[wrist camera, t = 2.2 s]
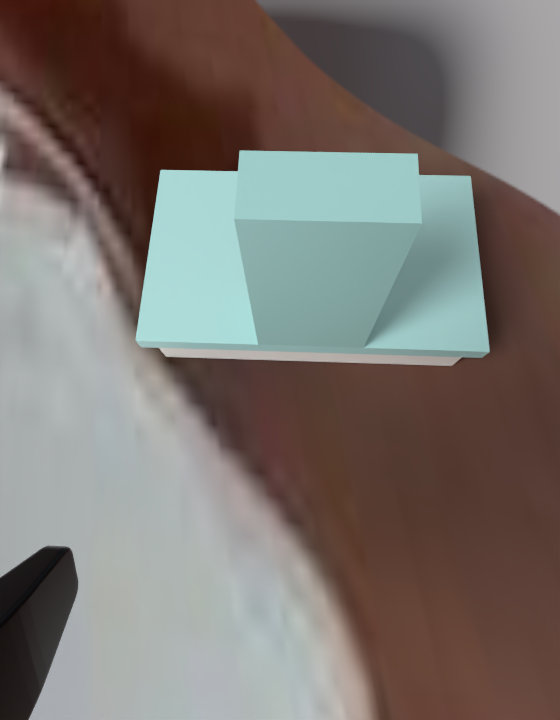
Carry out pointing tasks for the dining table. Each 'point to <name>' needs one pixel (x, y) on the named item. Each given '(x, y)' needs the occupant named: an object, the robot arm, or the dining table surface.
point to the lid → (315, 258)
